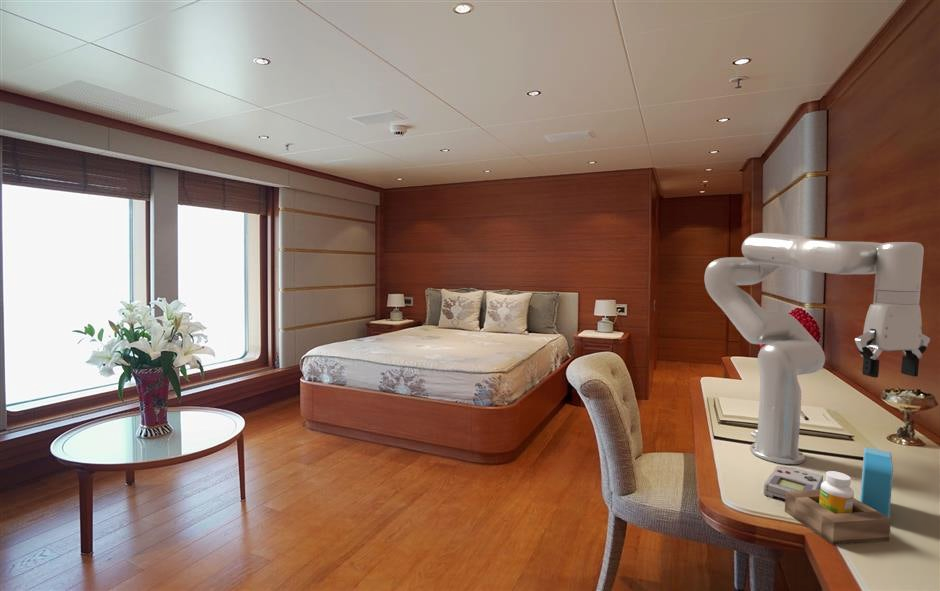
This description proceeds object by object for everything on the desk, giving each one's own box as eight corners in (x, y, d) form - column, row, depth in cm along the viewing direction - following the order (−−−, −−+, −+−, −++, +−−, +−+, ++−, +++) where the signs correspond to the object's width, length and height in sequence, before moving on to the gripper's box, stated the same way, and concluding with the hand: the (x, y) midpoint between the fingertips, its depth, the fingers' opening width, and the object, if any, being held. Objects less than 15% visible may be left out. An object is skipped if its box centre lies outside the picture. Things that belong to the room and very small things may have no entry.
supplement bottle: (811, 516, 100) (815, 471, 99) (828, 511, 102) (832, 467, 101) (839, 530, 95) (844, 483, 94) (856, 525, 97) (861, 479, 96)
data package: (860, 495, 110) (864, 444, 109) (886, 502, 108) (890, 450, 106) (860, 517, 101) (864, 462, 100) (888, 525, 98) (893, 468, 97)
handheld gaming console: (823, 473, 114) (812, 496, 104) (822, 487, 115) (811, 512, 104) (778, 461, 121) (763, 482, 110) (777, 475, 121) (762, 496, 110)
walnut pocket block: (784, 511, 103) (785, 491, 103) (835, 508, 105) (836, 488, 104) (832, 544, 91) (834, 522, 91) (889, 540, 93) (890, 518, 92)
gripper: (913, 297, 110) (907, 370, 112) (845, 297, 108) (839, 372, 110) (949, 300, 103) (942, 379, 104) (877, 300, 101) (870, 381, 102)
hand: (889, 375), depth 107 cm, fingers open, 9 cm apart
